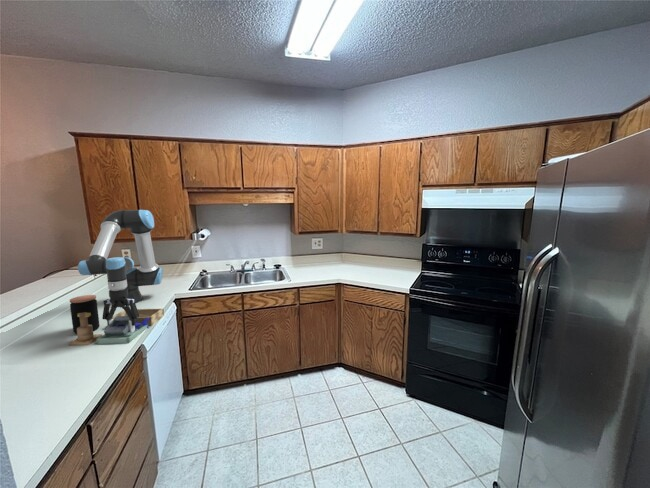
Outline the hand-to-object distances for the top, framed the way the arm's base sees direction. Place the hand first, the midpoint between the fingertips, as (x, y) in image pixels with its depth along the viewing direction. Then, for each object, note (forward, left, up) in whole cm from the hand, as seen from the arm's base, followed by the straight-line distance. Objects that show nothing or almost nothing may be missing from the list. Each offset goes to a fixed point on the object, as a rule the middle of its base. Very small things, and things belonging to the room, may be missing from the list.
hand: (122, 331), depth 139 cm
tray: (-1, 0, -3) cm, 3 cm away
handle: (+3, -15, -3) cm, 16 cm away
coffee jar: (-9, -24, -3) cm, 26 cm away
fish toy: (-5, +2, -2) cm, 6 cm away
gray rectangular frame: (0, 0, +2) cm, 2 cm away
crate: (-17, -2, -3) cm, 17 cm away
